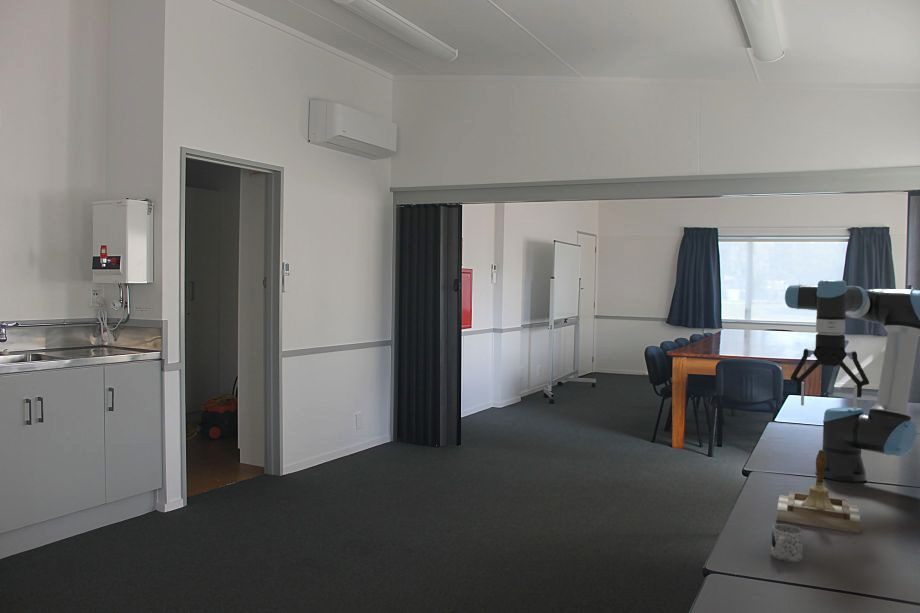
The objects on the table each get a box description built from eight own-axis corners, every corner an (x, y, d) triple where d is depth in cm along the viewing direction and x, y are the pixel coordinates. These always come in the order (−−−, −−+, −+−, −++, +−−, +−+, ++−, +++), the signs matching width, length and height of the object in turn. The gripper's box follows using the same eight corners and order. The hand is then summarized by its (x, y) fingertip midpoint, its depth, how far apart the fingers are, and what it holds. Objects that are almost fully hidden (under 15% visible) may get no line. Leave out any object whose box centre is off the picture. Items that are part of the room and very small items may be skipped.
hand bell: (832, 505, 204) (835, 448, 203) (837, 514, 196) (840, 455, 196) (799, 501, 207) (802, 445, 206) (803, 510, 199) (806, 451, 198)
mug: (776, 548, 178) (777, 521, 178) (805, 556, 174) (806, 528, 173) (763, 560, 170) (764, 532, 170) (793, 568, 166) (794, 539, 166)
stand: (779, 505, 213) (779, 489, 213) (857, 516, 204) (858, 500, 204) (776, 520, 199) (777, 503, 199) (860, 533, 191) (861, 516, 190)
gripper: (782, 333, 213) (780, 405, 214) (881, 336, 203) (878, 412, 204) (783, 330, 220) (781, 400, 221) (878, 334, 209) (876, 407, 211)
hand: (828, 406), depth 213 cm, fingers open, 13 cm apart
